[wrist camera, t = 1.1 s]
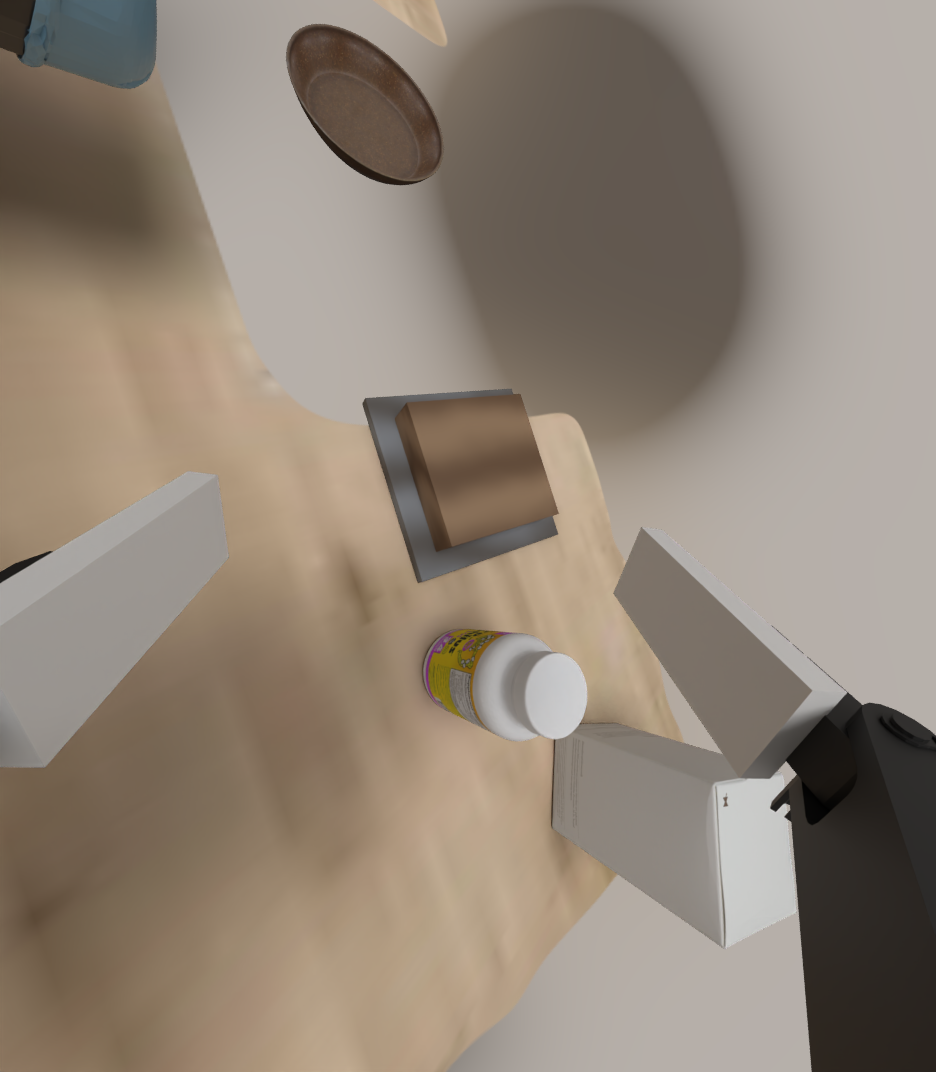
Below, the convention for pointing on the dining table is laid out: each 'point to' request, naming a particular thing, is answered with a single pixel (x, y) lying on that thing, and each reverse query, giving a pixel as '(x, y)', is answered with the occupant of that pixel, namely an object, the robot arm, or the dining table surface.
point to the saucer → (364, 105)
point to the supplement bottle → (506, 683)
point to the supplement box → (677, 827)
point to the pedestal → (461, 476)
